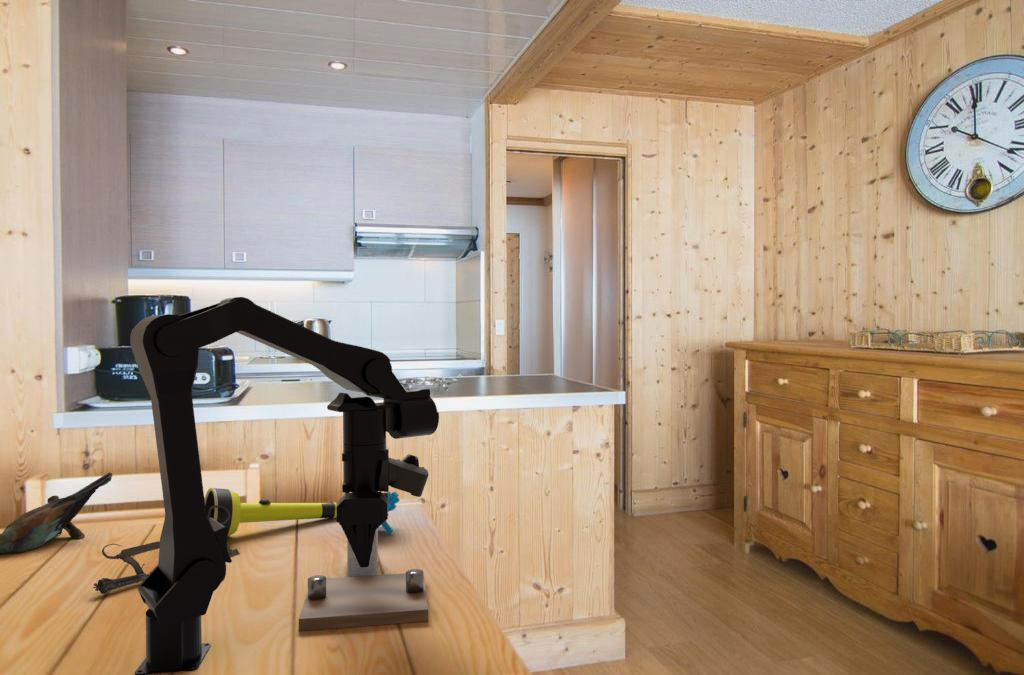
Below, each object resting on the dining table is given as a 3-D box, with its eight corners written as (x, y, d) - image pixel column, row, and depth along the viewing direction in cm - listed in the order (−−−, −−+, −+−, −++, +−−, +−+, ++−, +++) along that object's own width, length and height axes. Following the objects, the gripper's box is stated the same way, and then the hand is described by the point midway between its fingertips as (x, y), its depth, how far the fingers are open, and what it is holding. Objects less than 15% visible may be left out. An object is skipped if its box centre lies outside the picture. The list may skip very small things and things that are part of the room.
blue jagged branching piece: (378, 519, 134) (404, 484, 130) (396, 543, 132) (422, 508, 128) (335, 533, 125) (361, 496, 121) (353, 559, 122) (380, 522, 119)
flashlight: (331, 531, 140) (334, 486, 142) (350, 535, 133) (352, 487, 135) (199, 538, 125) (204, 487, 127) (212, 542, 118) (217, 488, 120)
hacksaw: (98, 595, 97) (81, 527, 100) (89, 602, 98) (73, 535, 101) (250, 552, 117) (232, 497, 120) (241, 558, 118) (224, 503, 121)
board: (428, 621, 89) (428, 590, 89) (298, 631, 86) (298, 599, 86) (423, 582, 103) (423, 555, 103) (311, 589, 100) (311, 562, 100)
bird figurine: (97, 463, 134) (-25, 475, 117) (125, 478, 129) (2, 493, 112) (85, 530, 135) (-37, 552, 117) (113, 548, 130) (-10, 574, 112)
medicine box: (350, 562, 112) (349, 509, 112) (378, 561, 113) (377, 507, 113) (347, 580, 104) (346, 522, 104) (377, 578, 105) (377, 520, 105)
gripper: (427, 452, 87) (428, 577, 87) (421, 431, 105) (422, 534, 105) (335, 455, 85) (336, 583, 85) (346, 433, 103) (346, 538, 103)
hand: (365, 557), depth 95 cm, fingers open, 8 cm apart
